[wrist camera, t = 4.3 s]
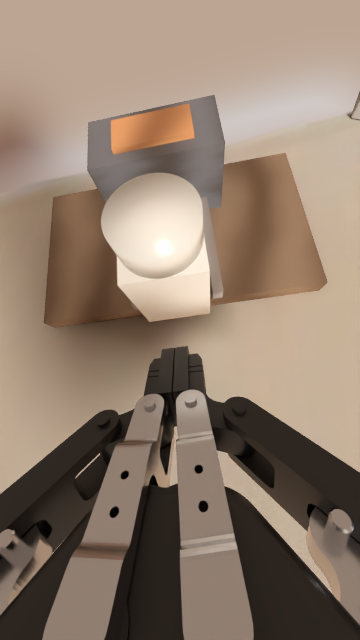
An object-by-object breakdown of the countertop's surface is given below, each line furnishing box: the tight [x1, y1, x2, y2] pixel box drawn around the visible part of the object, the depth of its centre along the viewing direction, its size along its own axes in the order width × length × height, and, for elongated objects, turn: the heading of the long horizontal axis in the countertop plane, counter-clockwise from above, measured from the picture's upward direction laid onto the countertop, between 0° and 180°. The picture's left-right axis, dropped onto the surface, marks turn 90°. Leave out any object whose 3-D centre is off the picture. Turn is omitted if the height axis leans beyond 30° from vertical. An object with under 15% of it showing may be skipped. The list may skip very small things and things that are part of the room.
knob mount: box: [44, 95, 327, 327], centre depth 20 cm, size 24×14×8 cm, turn 96°
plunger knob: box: [101, 173, 210, 322], centre depth 16 cm, size 5×5×9 cm
